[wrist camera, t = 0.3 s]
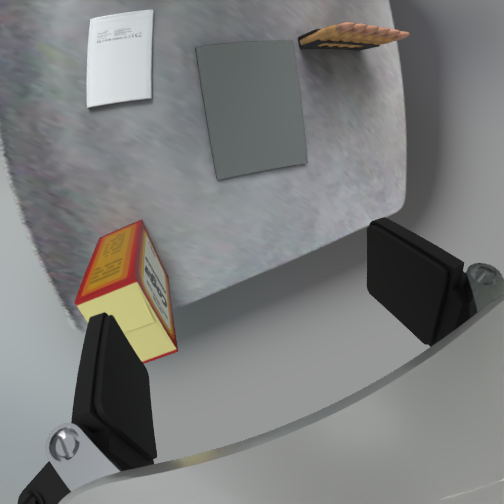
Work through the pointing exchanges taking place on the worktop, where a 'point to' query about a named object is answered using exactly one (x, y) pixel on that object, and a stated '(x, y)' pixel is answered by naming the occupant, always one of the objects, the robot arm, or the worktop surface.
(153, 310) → the baking soda box
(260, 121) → the mat
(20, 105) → the worktop surface
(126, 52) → the external hard drive
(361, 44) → the ammunition clip
